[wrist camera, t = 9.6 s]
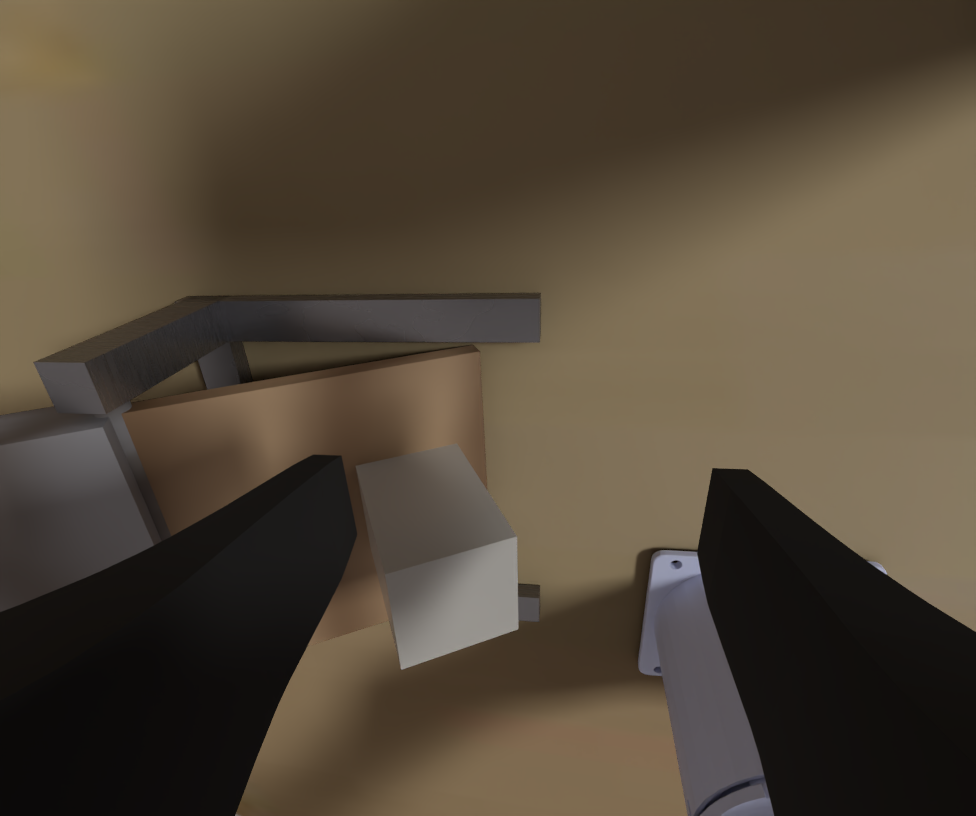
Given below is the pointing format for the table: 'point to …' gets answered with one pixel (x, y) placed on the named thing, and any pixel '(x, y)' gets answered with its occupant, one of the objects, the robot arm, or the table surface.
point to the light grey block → (439, 553)
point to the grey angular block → (292, 318)
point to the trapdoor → (219, 466)
